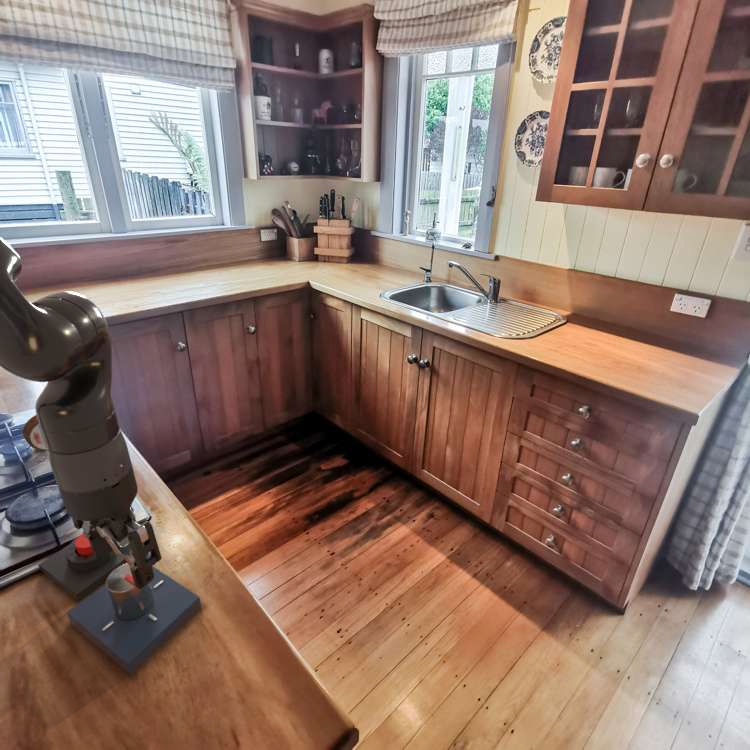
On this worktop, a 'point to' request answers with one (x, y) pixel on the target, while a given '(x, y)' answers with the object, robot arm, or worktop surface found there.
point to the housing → (80, 570)
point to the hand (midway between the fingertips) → (124, 568)
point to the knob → (128, 594)
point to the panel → (135, 621)
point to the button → (83, 546)
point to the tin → (34, 434)
